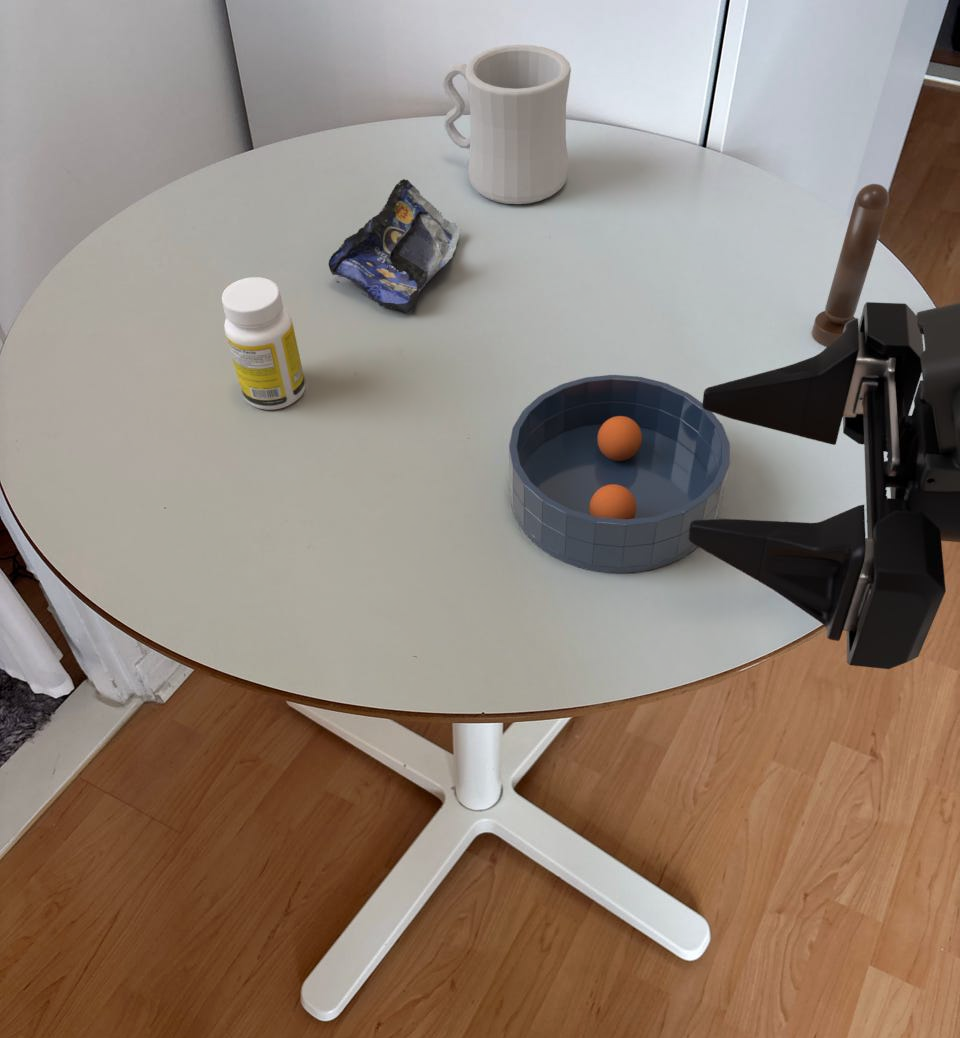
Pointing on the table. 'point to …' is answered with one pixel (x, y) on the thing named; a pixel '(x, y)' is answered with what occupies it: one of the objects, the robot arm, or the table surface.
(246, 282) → the supplement bottle
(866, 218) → the wooden pestle
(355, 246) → the snack package
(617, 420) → the ball
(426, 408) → the table surface
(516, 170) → the mug
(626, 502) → the ball
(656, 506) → the bowl
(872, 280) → the table surface
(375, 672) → the table surface
